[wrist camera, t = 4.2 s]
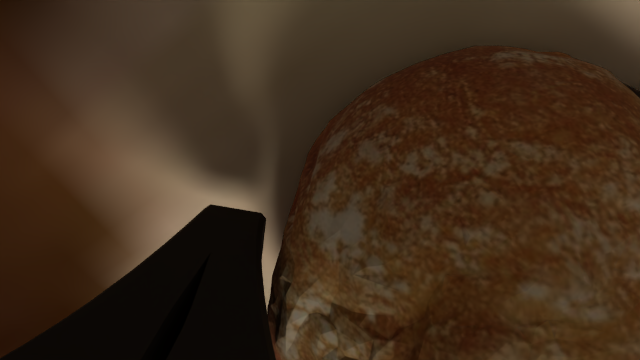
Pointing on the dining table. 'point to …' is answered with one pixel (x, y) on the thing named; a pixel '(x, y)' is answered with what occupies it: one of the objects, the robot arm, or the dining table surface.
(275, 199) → the dining table surface
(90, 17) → the dining table surface
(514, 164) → the bread roll
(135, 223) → the dining table surface
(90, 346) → the robot arm
